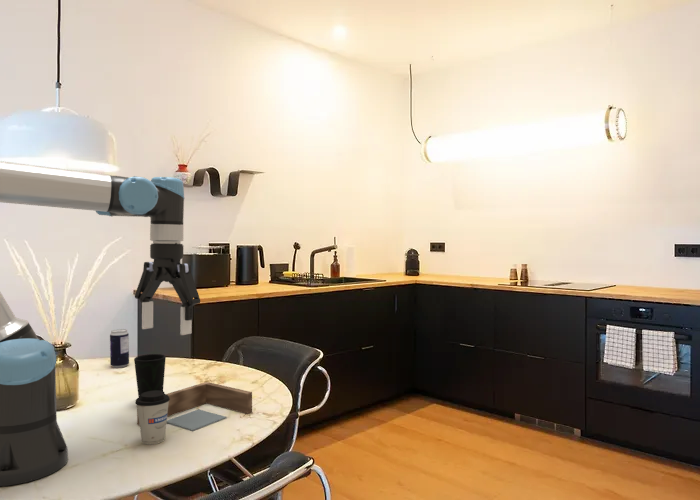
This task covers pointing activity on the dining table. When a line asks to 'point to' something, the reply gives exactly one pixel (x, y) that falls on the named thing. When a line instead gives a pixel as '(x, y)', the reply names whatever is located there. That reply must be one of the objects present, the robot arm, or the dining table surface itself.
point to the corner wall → (209, 398)
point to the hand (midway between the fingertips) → (166, 331)
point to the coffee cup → (152, 416)
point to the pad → (195, 419)
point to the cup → (150, 372)
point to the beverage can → (119, 348)
